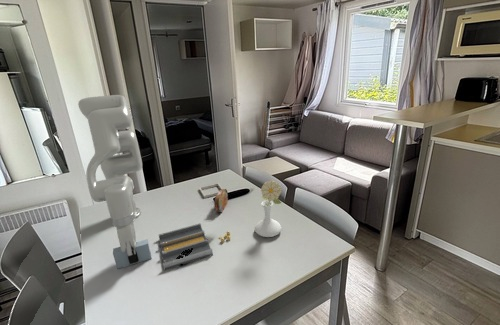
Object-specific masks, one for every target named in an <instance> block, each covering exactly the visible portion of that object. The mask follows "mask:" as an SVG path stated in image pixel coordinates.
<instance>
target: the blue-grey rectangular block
mask: <svg viewBox="0 0 500 325" xmlns="http://www.w3.org/2000/svg"><path fill="white" fill-rule="evenodd" d="M132 251H133V249H132ZM135 251H136V252H137V255H138V259H139V261H138V262H136V263H132V264H130V263H129V260H128V256H127V251H126V250H125V252H122V251H121V247H120V246H118V247H115V248H113V249H112V255H113V258H114V263H115V266H116V268H117V269H122V268H125V267H128V266H131V265H134V264H138V263H141V262H145V261H149V260H151V259H152V253H151V248H150V245H149V240H148V239H147V238H146V239H143V240H139V241H136V248H135Z"/></svg>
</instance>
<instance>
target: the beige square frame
mask: <svg viewBox="0 0 500 325" xmlns="http://www.w3.org/2000/svg"><path fill="white" fill-rule="evenodd" d="M216 187H218V188H219V190H221V189H224V188H223V187H222V186H221V184H220V183H219V182H217V183H213V184H207V185H203V186H199V187H198V188H199V189H198V190H199V192H200V193H201V195H202V197H203V199H206V198H210V197H216V196H217V194H218V192H219V191H216V192H212V193H207V194H205V193H204V191H203V190H207V189H211V188H216Z"/></svg>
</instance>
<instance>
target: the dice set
mask: <svg viewBox="0 0 500 325" xmlns="http://www.w3.org/2000/svg"><path fill="white" fill-rule="evenodd" d="M218 239H220V243H221V244H224V243H225V239H226V241H231V232H230V231H226V233H224V236H222V235H221V236H220V235H219V236H218Z"/></svg>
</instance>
